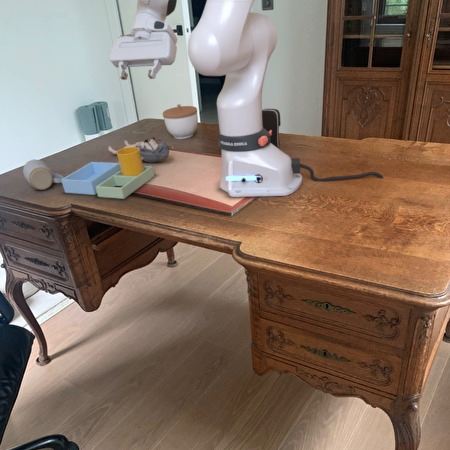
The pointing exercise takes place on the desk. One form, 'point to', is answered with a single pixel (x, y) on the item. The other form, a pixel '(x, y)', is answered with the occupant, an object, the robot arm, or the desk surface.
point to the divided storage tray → (123, 184)
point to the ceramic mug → (40, 175)
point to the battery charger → (272, 124)
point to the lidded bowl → (181, 121)
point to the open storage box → (89, 177)
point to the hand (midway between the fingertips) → (137, 78)
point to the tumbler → (130, 161)
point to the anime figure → (149, 150)
